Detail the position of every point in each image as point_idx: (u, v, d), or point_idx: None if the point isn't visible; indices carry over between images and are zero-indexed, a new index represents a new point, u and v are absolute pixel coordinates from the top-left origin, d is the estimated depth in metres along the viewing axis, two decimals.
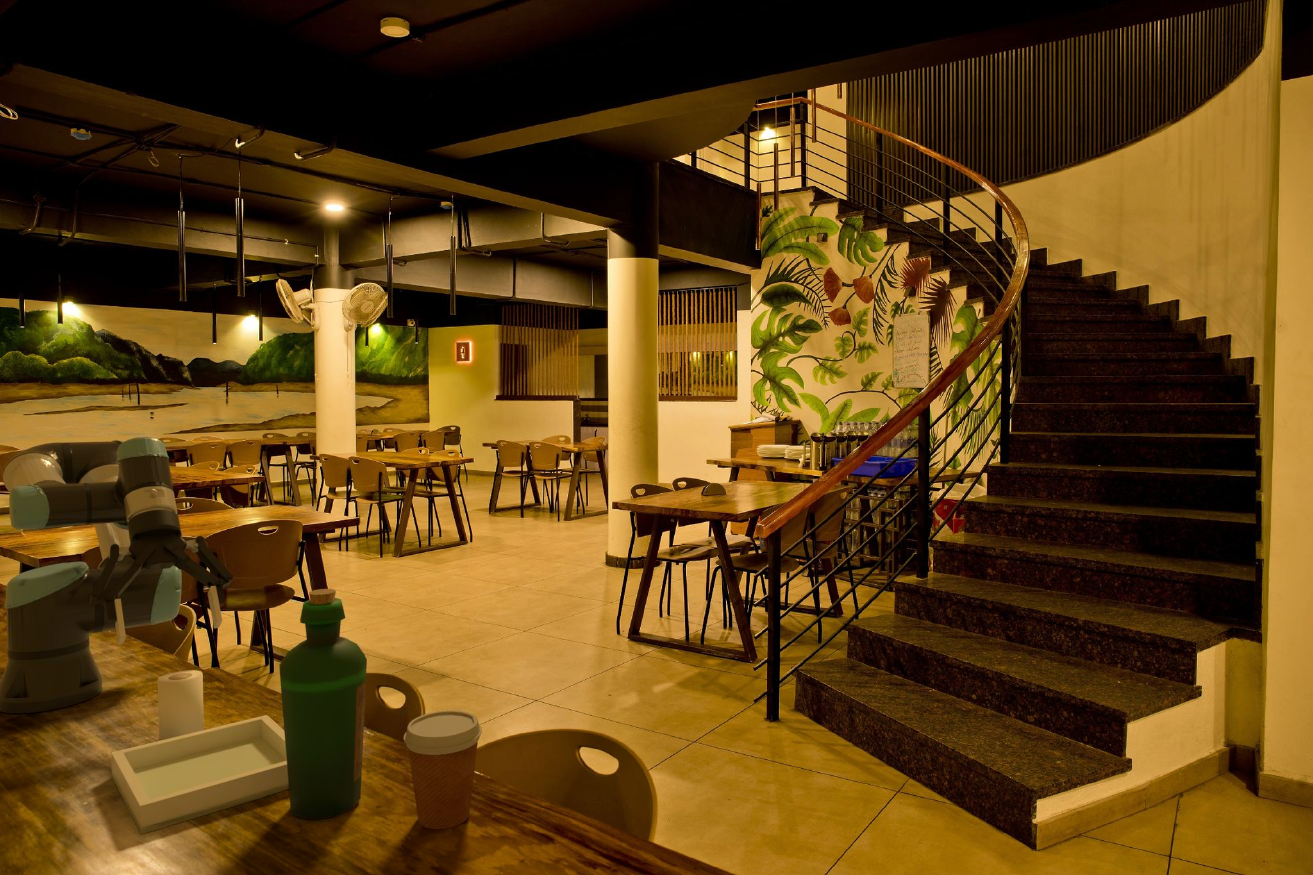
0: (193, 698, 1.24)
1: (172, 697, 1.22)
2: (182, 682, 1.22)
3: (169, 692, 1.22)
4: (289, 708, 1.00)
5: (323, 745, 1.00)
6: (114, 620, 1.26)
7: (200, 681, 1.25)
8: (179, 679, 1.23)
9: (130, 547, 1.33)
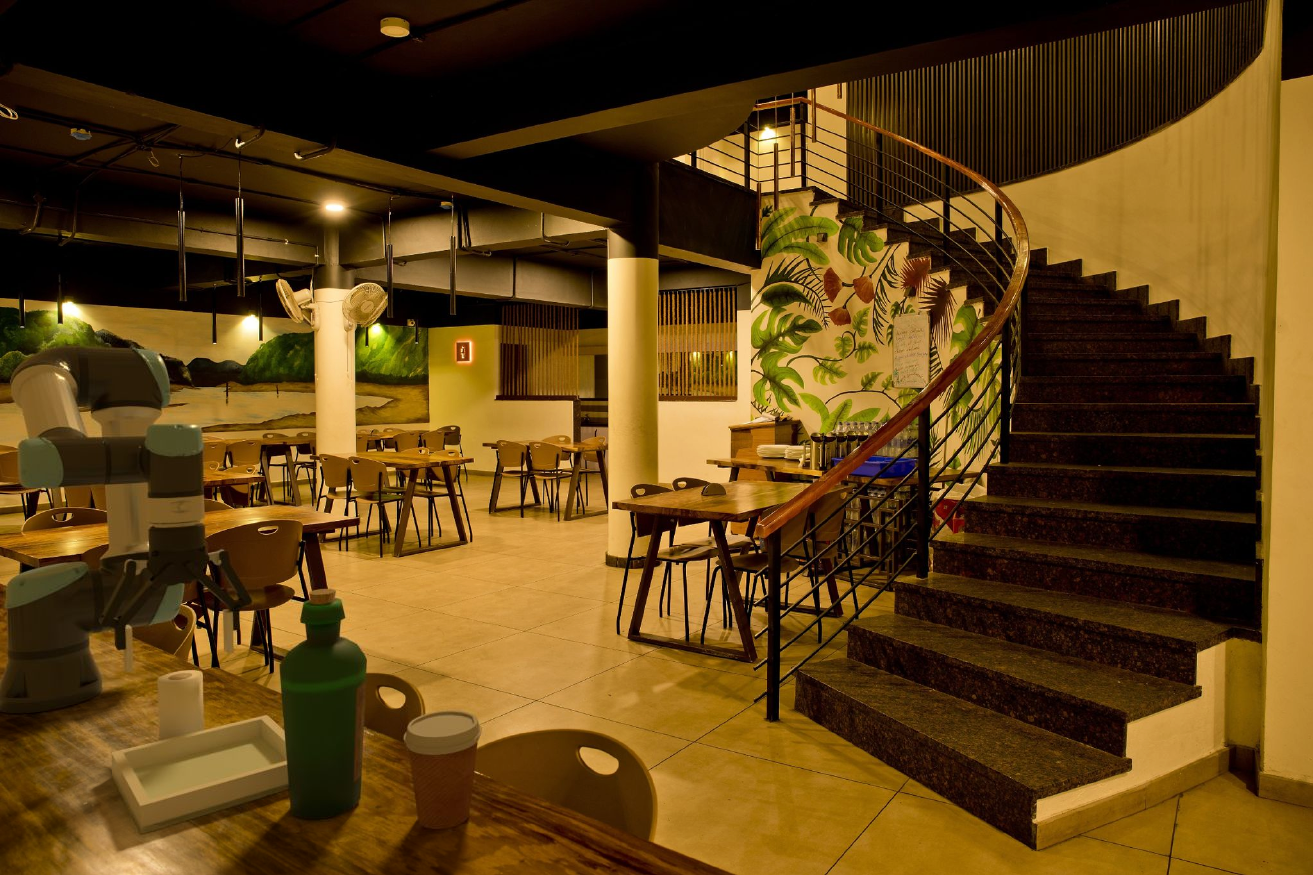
0: (193, 698, 1.24)
1: (172, 698, 1.22)
2: (182, 682, 1.22)
3: (169, 692, 1.22)
4: (289, 708, 1.00)
5: (323, 745, 1.00)
6: None
7: (200, 681, 1.25)
8: (179, 679, 1.23)
9: (148, 563, 1.21)
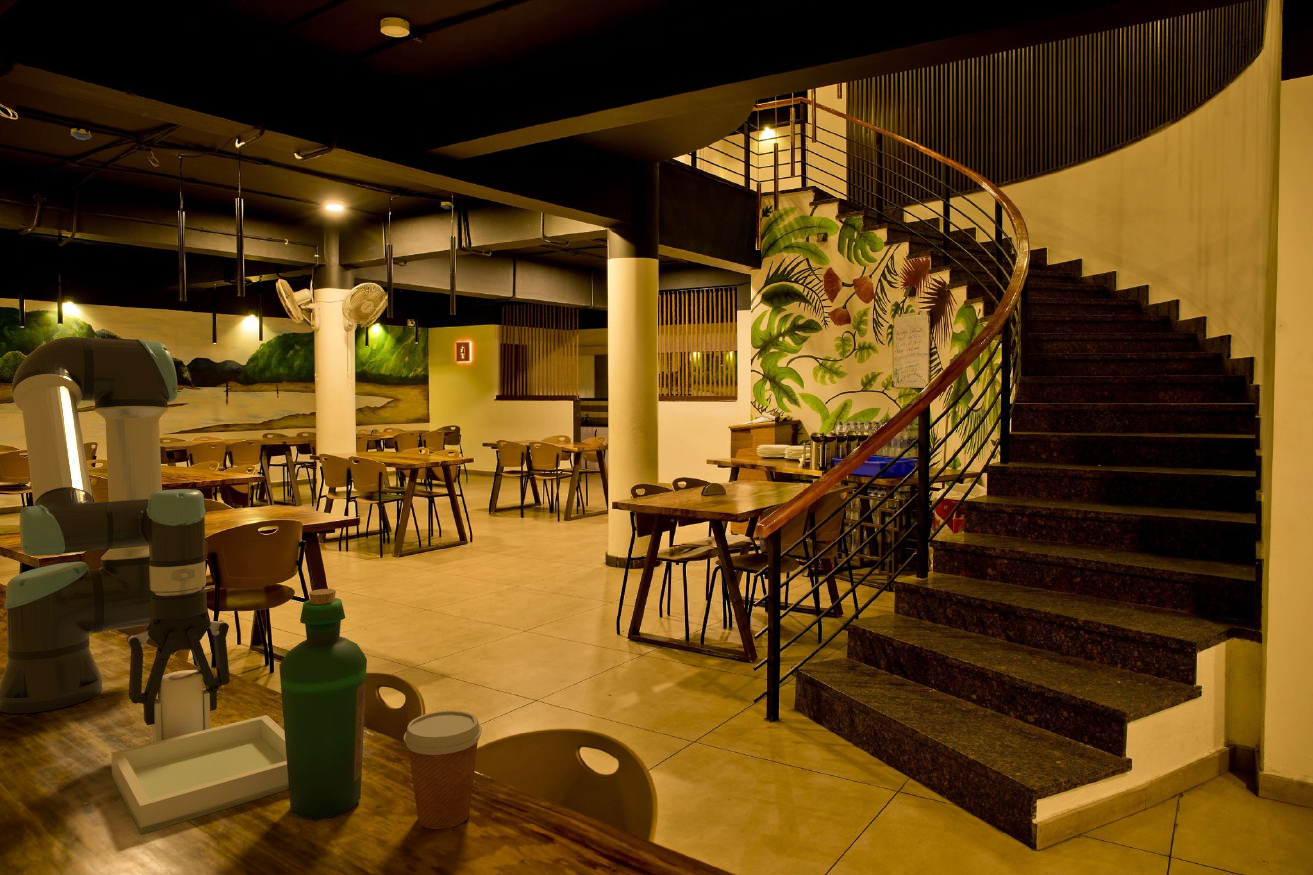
0: (193, 698, 1.24)
1: (172, 697, 1.22)
2: (182, 681, 1.22)
3: (169, 692, 1.22)
4: (289, 708, 1.00)
5: (323, 745, 1.00)
6: (152, 723, 1.22)
7: (200, 681, 1.25)
8: (179, 679, 1.23)
9: (150, 634, 1.21)
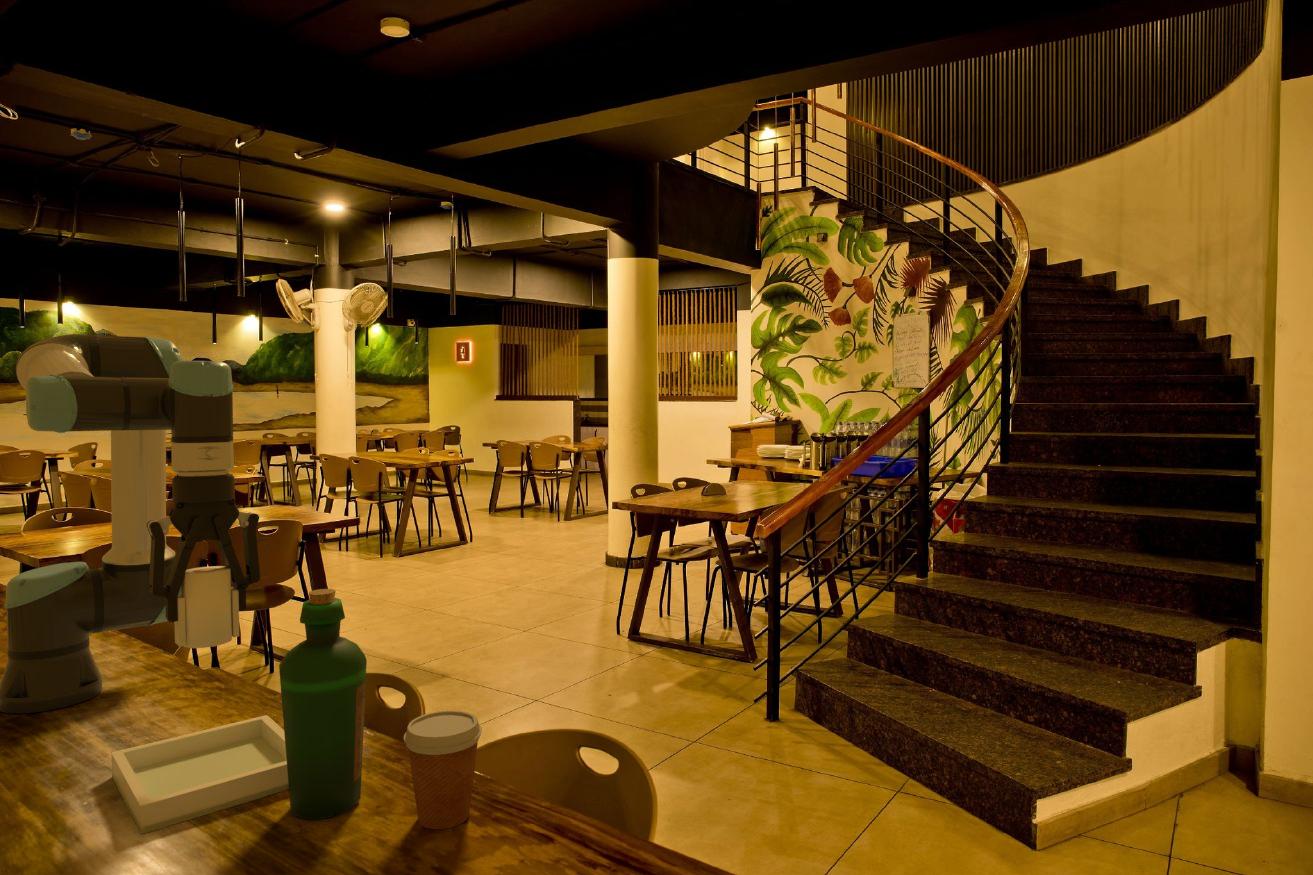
0: (221, 593, 1.10)
1: (197, 591, 1.08)
2: (208, 573, 1.09)
3: (194, 585, 1.08)
4: (289, 708, 1.00)
5: (323, 745, 1.00)
6: (174, 620, 1.09)
7: (228, 576, 1.12)
8: (205, 572, 1.10)
9: (172, 519, 1.08)
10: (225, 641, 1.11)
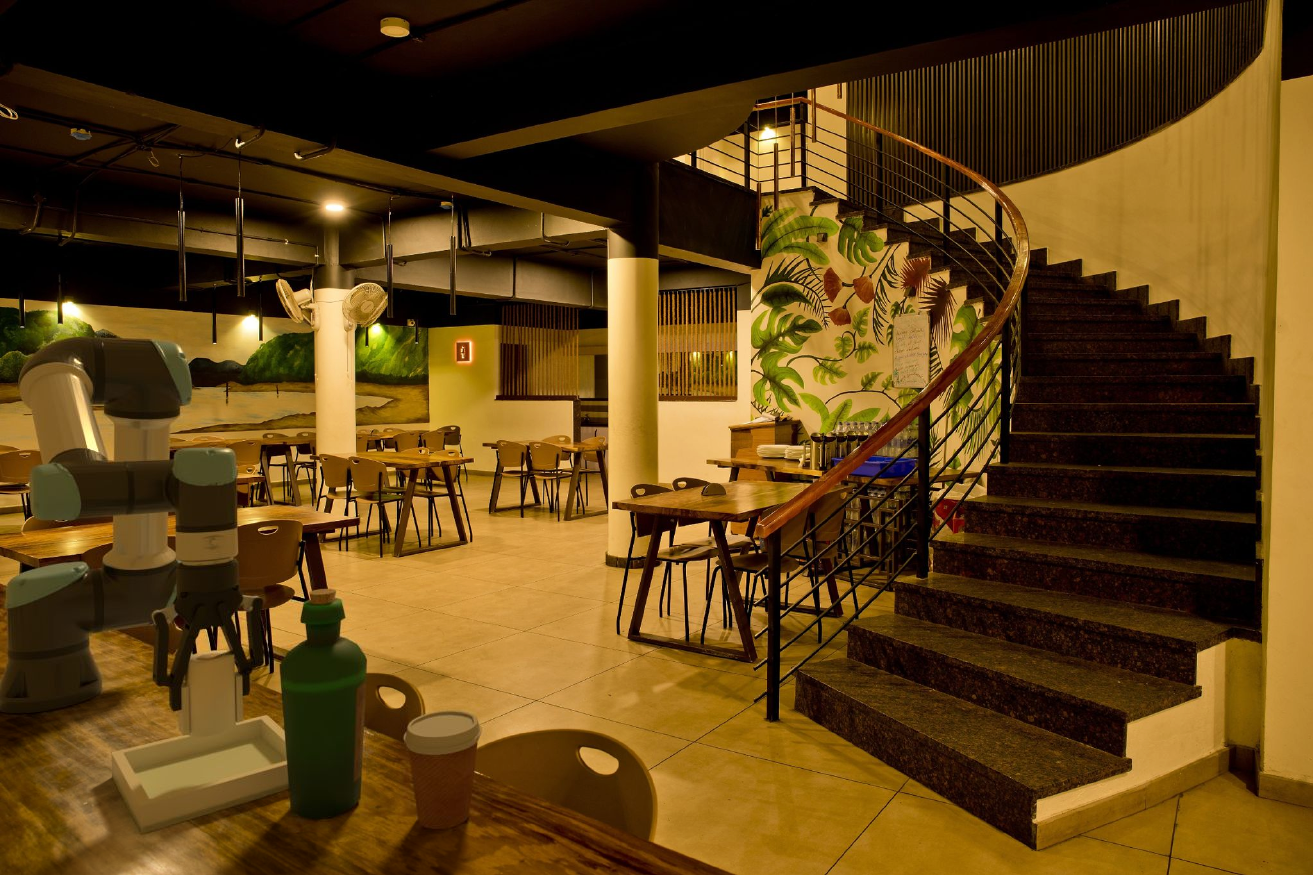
0: (225, 681, 1.10)
1: (201, 680, 1.08)
2: (212, 662, 1.09)
3: (198, 674, 1.08)
4: (289, 708, 1.00)
5: (323, 745, 1.00)
6: (178, 709, 1.08)
7: (232, 662, 1.11)
8: (209, 659, 1.10)
9: (176, 608, 1.07)
10: (229, 728, 1.11)
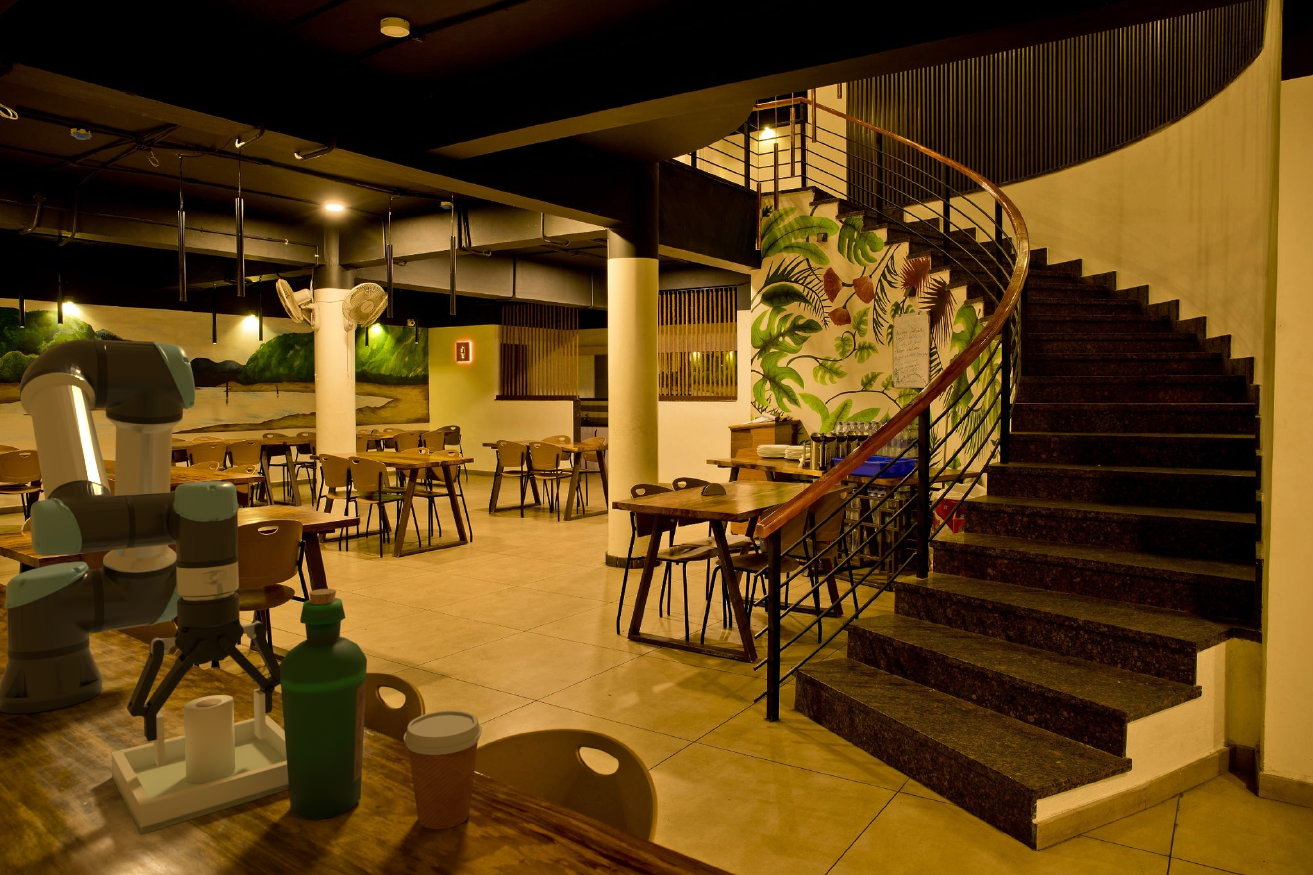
0: (224, 727, 1.10)
1: (201, 727, 1.08)
2: (211, 709, 1.09)
3: (197, 721, 1.08)
4: (289, 708, 1.00)
5: (323, 745, 1.00)
6: None
7: (231, 708, 1.11)
8: (208, 706, 1.10)
9: (177, 641, 1.08)
10: (229, 774, 1.11)
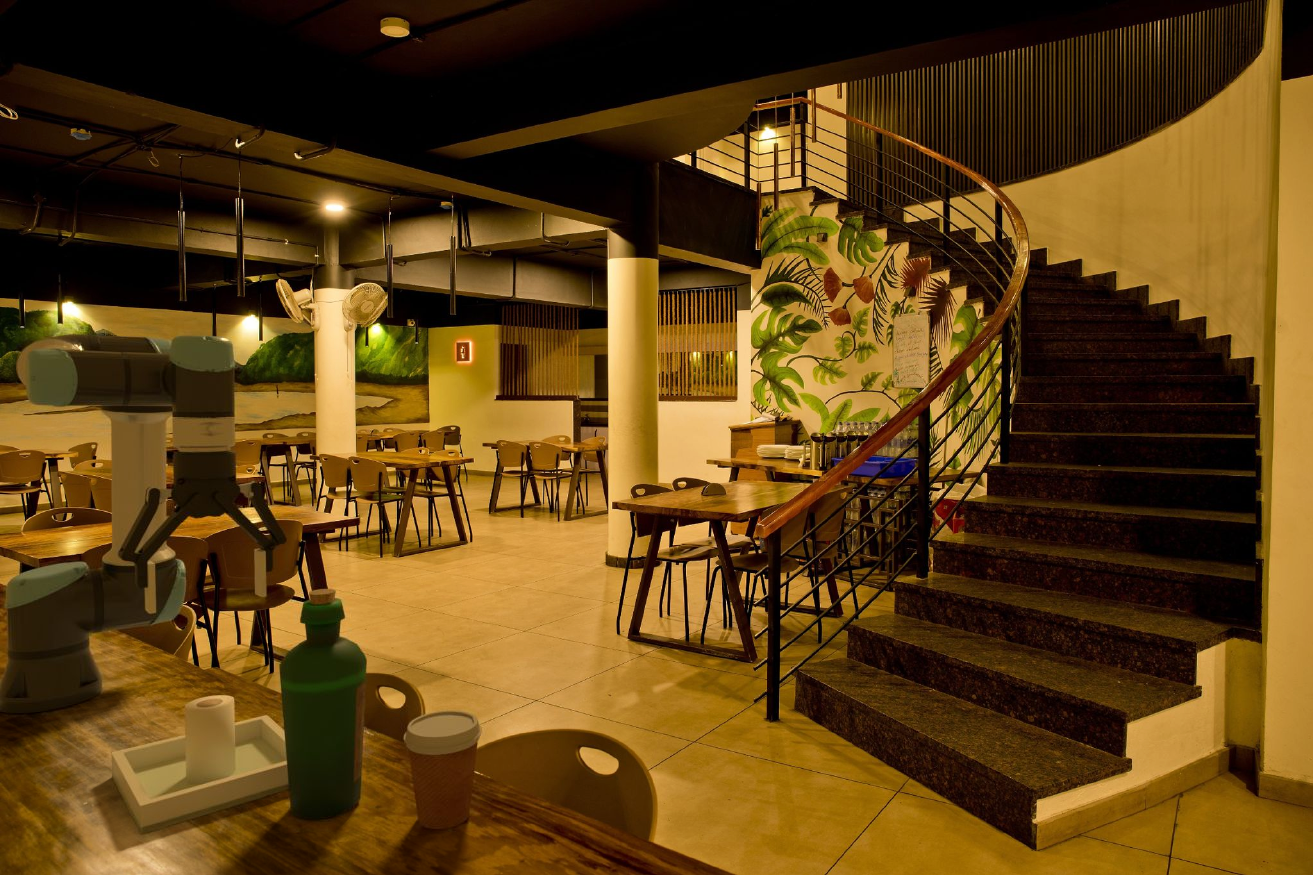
0: (225, 727, 1.10)
1: (201, 727, 1.08)
2: (212, 709, 1.09)
3: (198, 721, 1.08)
4: (289, 708, 1.00)
5: (323, 745, 1.00)
6: None
7: (232, 708, 1.12)
8: (209, 706, 1.10)
9: (173, 492, 1.07)
10: (229, 774, 1.11)
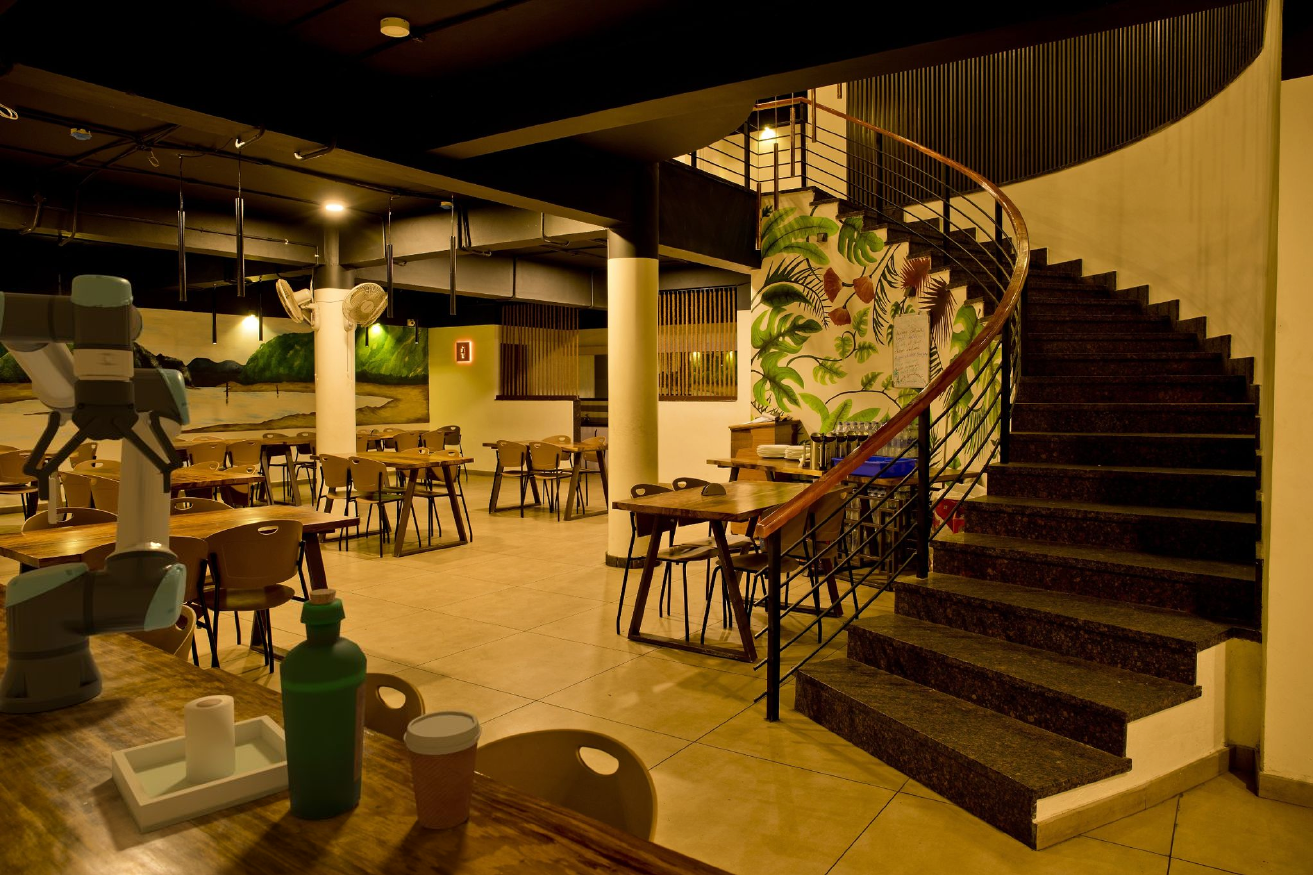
0: (224, 727, 1.10)
1: (201, 727, 1.08)
2: (211, 709, 1.09)
3: (198, 721, 1.08)
4: (289, 708, 1.00)
5: (323, 745, 1.00)
6: None
7: (231, 708, 1.11)
8: (208, 706, 1.10)
9: (73, 416, 1.19)
10: (229, 774, 1.11)
